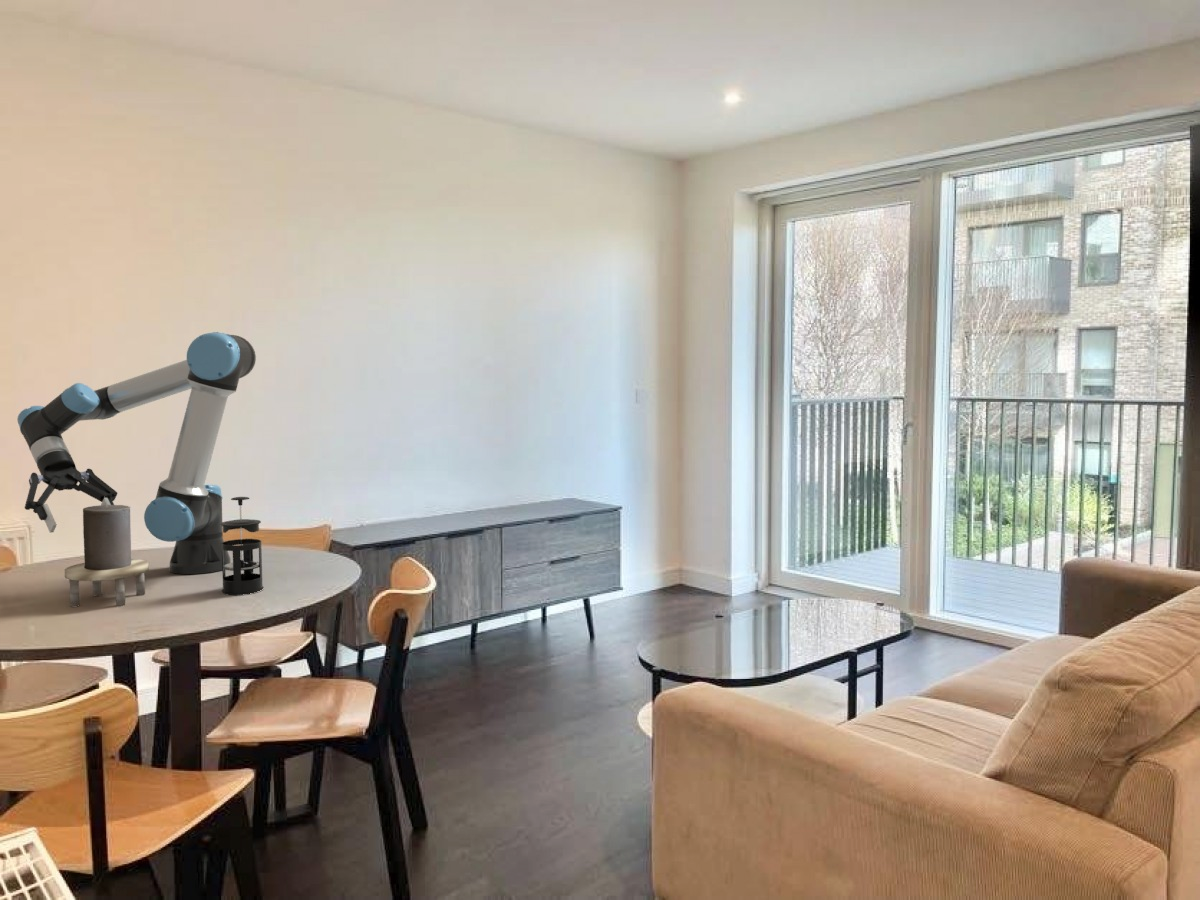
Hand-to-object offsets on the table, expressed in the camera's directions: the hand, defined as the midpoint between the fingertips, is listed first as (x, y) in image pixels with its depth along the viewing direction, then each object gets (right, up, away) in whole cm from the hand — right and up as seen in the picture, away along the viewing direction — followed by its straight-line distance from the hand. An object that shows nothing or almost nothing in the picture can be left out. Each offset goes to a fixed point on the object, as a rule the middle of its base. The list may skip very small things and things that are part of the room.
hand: (84, 525), depth 208 cm
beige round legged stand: (+9, -17, -5) cm, 20 cm away
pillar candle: (+9, -9, -5) cm, 14 cm away
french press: (+36, -17, +5) cm, 40 cm away
